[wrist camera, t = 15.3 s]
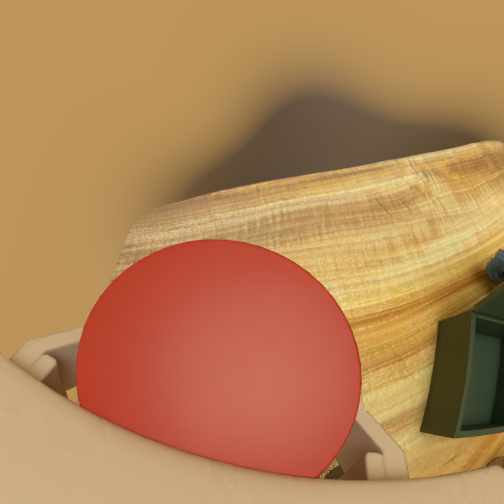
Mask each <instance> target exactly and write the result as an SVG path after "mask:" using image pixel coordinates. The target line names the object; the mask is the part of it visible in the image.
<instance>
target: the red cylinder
mask: <svg viewBox="0 0 504 504" xmlns="http://www.w3.org/2000/svg"><path fill="white" fill-rule="evenodd" d="M76 384H77V393H78V398H79V403H80V406H81V407H83V408H85V409H87V410H89V411H90V412H92V413H94V414H96V415H98V416H100V417H102V418H104V419H106V420H108V421H110V422H112V423H115V424H117V425H119V426H121V427H123V428H126V429H128V430H130V431H132V432H135V433H137V434H140V435H142V436H144V437H147V438H149V439H152V440H155V441H157V442H160V443H163V444H165V445H168V446H171V447H174V448H177V449H180V450H183V451H186V452H189V453H192V454H195V455H199V456H202V457H206V458H209V459H213V460H217V461H220V462H224V463H228V464H233V465H237V466H241V467H246V468H250V469H255V470H260V471H266V472H272V473H278V474H284V475H291V476H299V477H307V478H317V477H318V476H320V475H321V474H322V473H323V472H324V471H325V470H326V469H327V468H328V467H329V465H330V464H331V463H332V462H333V460H334V459H335V458H336V456H337V455H338V454H339V452H340V451H341V449H342V447H343V446H344V444H345V442H346V440H347V439H348V437H349V435H350V432H351V430H352V427H353V425H354V422H355V419H356V416H357V412H358V407H359V403H360V395H361V385H362V380H361V363H360V358H359V352H358V347H357V344H356V341H355V338H354V335H353V332H352V329H351V327H350V325H349V323H348V321H347V319H346V317H345V315H344V313H343V311H342V310H341V308H340V307H339V305H338V304H337V302H336V301H335V299H334V298H333V297H332V295H331V294H330V293H329V292H328V291H327V290H326V288H325V287H324V286H323V285H322V284H321V283H320V282H319V281H318V280H317V279H316V278H314V277H313V276H312V275H311V274H310V273H309V272H308V271H306V270H305V269H303V268H302V267H300V266H299V265H298V264H296V263H295V262H293V261H291V260H289V259H288V258H286V257H284V256H282V255H280V254H278V253H276V252H273V251H271V250H268V249H266V248H263V247H260V246H257V245H253V244H249V243H245V242H239V241H231V240H198V241H190V242H185V243H181V244H177V245H173V246H169V247H167V248H164V249H161V250H159V251H156V252H154V253H152V254H150V255H148V256H146V257H144V258H143V259H141V260H139V261H137V262H136V263H135V264H133V265H132V266H130V267H129V268H128V269H126V270H125V271H124V272H123V273H121V274H120V275H119V276H118V277H117V278H116V279H115V280H114V281H113V282H112V283H111V284H110V285H109V286H108V288H107V289H106V290H105V291H104V293H103V294H102V295H101V296H100V298H99V299H98V301H97V303H96V304H95V306H94V307H93V309H92V310H91V312H90V315H89V317H88V319H87V321H86V324H85V326H84V328H83V332H82V335H81V338H80V342H79V347H78V353H77V359H76Z"/></svg>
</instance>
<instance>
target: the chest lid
mask: <svg viewBox="0 0 504 504" xmlns="http://www.w3.org/2000/svg"><path fill="white" fill-rule="evenodd" d="M474 307H475V312H479V313H483V314H486V315H490V316H494V317H497V318H501V319H504V285H503V286H501V287H500V288H499V289H497V290H496V291H494V292H493V293H492V294H490V295H489V296H487V297H486V298H484V299H483V300H482V301H480V302H479V303H477V304H476V305H474Z"/></svg>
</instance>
